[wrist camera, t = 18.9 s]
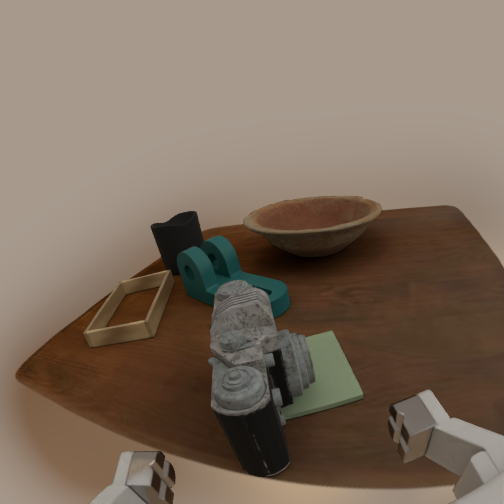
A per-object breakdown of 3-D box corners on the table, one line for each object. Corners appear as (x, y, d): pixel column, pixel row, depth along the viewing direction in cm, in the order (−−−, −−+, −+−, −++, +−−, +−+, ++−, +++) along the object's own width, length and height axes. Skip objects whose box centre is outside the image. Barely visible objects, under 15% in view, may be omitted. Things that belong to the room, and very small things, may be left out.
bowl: (384, 276, 41) (379, 220, 38) (231, 282, 51) (218, 236, 49) (385, 222, 61) (381, 183, 58) (277, 232, 71) (270, 197, 69)
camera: (337, 462, 18) (326, 358, 14) (240, 481, 18) (189, 387, 14) (300, 344, 32) (282, 254, 28) (235, 359, 32) (207, 272, 28)
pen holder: (206, 270, 59) (190, 219, 56) (160, 279, 60) (143, 231, 57) (213, 252, 68) (200, 208, 65) (172, 261, 69) (158, 218, 66)
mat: (245, 428, 23) (243, 423, 23) (240, 357, 33) (239, 353, 33) (363, 398, 23) (363, 393, 23) (332, 334, 33) (332, 330, 32)
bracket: (187, 295, 51) (172, 250, 48) (219, 277, 55) (207, 234, 52) (263, 326, 37) (248, 266, 35) (300, 300, 41) (289, 243, 39)
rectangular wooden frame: (90, 347, 41) (83, 333, 40) (124, 293, 58) (119, 281, 57) (154, 336, 40) (147, 321, 40) (174, 281, 58) (170, 269, 57)
